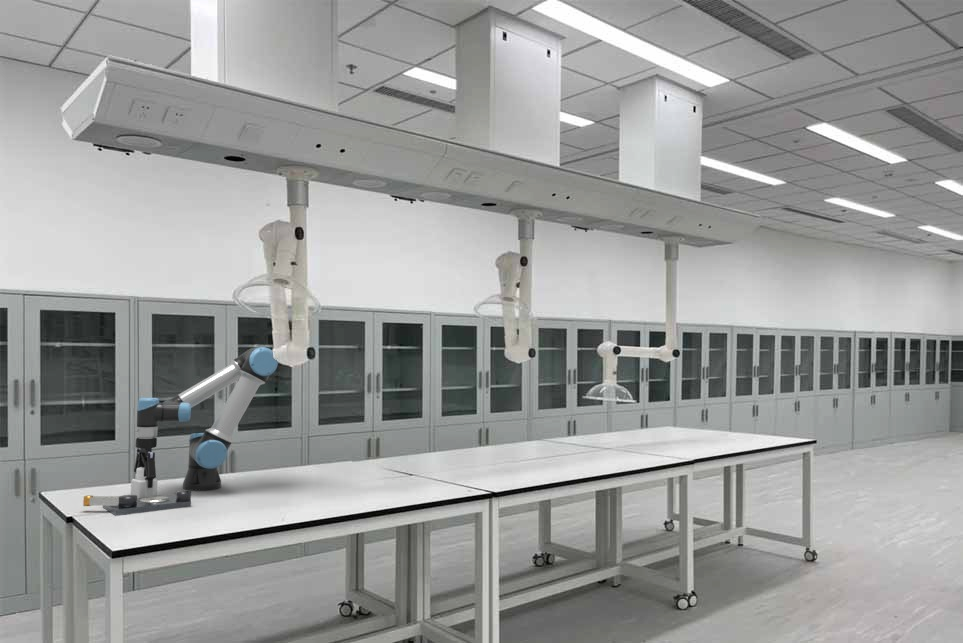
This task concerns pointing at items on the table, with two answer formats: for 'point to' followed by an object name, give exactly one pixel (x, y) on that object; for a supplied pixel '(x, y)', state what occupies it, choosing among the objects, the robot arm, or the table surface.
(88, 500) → the ball lever handle
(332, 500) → the table surface
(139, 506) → the dark grey base plate
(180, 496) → the knob
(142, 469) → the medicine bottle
